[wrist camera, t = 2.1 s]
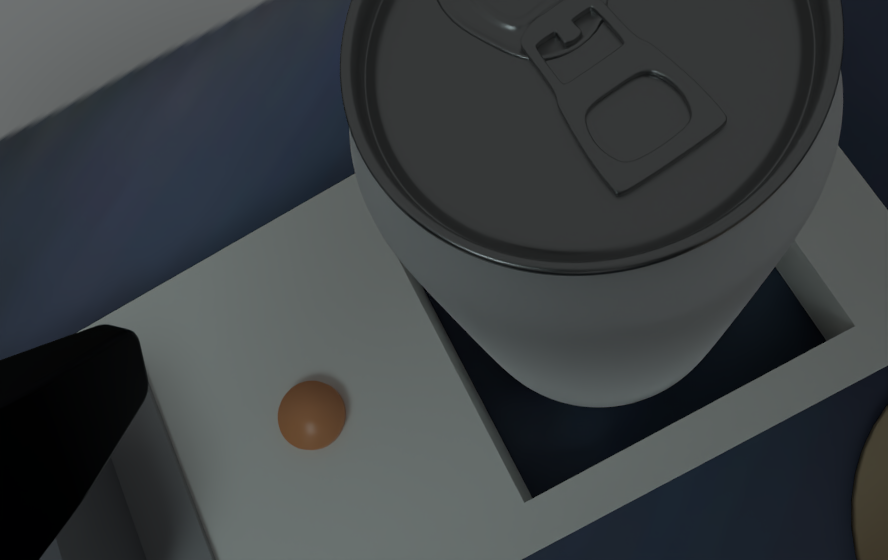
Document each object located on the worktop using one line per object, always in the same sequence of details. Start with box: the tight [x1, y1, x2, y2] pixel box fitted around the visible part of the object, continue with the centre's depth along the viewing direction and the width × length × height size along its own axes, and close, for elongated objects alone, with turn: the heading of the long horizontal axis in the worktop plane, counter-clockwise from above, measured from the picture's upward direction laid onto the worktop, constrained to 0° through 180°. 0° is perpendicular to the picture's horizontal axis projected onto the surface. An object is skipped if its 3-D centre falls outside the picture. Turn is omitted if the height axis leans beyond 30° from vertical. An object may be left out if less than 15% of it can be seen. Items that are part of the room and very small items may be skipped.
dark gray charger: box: [39, 457, 147, 560], centre depth 18 cm, size 4×4×3 cm
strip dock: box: [77, 146, 888, 560], centre depth 19 cm, size 10×24×2 cm, turn 118°
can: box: [340, 0, 844, 407], centre depth 15 cm, size 6×6×12 cm
